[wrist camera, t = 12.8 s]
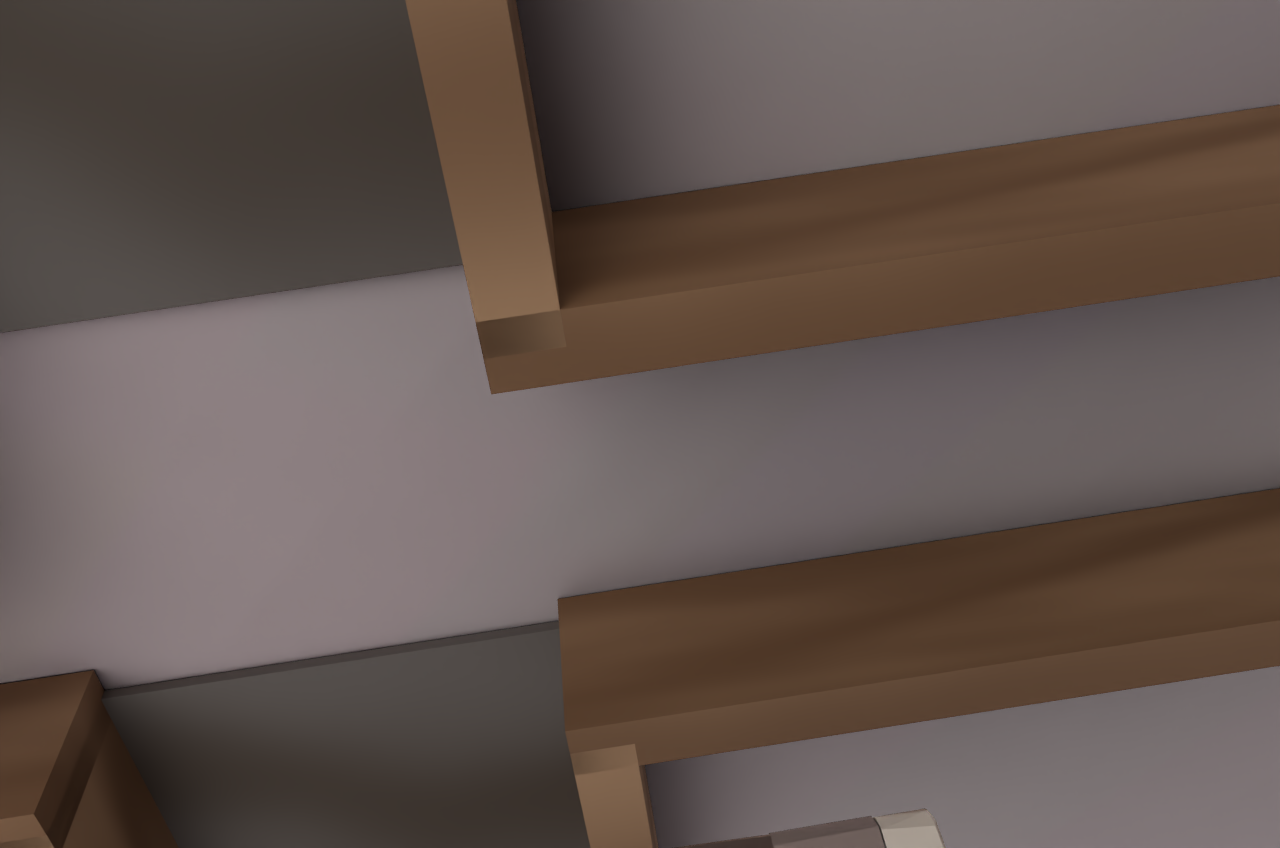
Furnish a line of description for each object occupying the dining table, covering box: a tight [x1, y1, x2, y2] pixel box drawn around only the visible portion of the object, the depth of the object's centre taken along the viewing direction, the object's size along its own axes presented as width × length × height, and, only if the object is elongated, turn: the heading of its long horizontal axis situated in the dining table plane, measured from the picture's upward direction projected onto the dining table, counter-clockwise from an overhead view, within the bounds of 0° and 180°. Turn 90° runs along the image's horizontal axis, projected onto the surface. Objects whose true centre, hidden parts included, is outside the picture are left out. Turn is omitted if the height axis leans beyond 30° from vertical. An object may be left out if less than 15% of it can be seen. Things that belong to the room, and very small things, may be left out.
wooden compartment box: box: [0, 0, 1280, 848], centre depth 17 cm, size 22×37×3 cm, turn 97°
